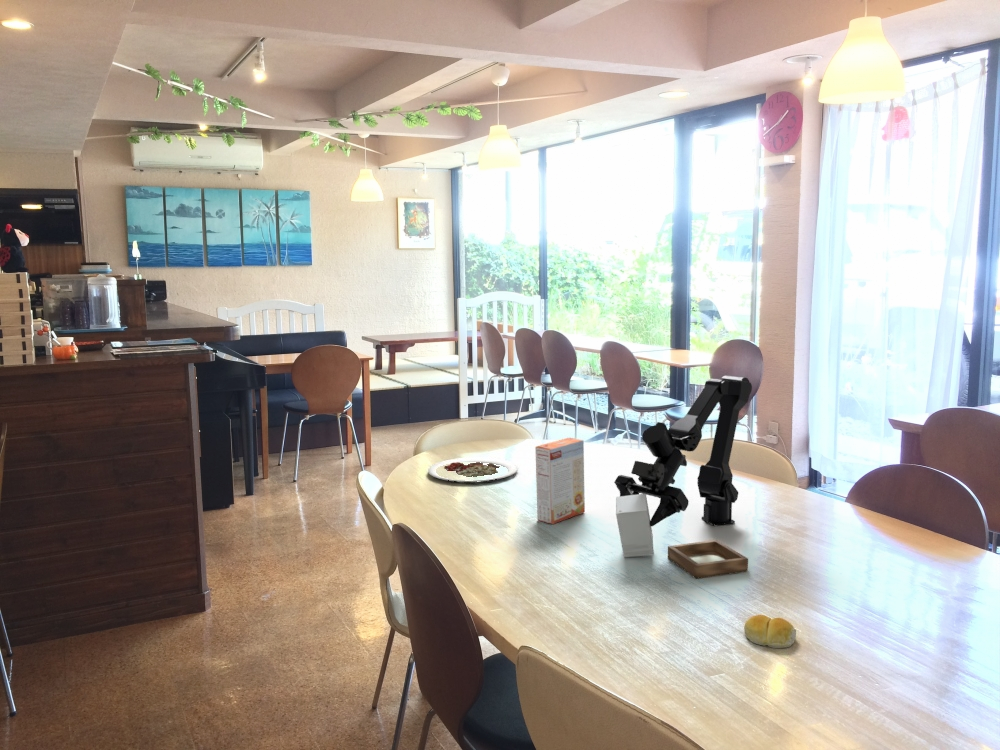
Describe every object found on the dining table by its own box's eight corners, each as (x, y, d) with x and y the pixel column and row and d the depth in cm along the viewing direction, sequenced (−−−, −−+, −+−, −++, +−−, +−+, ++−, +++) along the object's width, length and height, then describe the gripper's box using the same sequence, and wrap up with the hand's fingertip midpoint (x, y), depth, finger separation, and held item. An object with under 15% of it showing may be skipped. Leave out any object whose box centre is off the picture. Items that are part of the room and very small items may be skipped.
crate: (716, 551, 192) (716, 539, 191) (747, 571, 180) (748, 558, 179) (667, 558, 188) (667, 546, 188) (696, 578, 176) (696, 565, 176)
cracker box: (569, 508, 227) (568, 436, 224) (585, 513, 223) (585, 439, 220) (535, 520, 218) (534, 445, 215) (552, 525, 213) (551, 448, 210)
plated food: (518, 485, 253) (518, 475, 252) (423, 487, 253) (423, 476, 253) (517, 461, 282) (517, 452, 282) (432, 463, 283) (432, 453, 282)
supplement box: (654, 555, 188) (647, 510, 183) (623, 558, 189) (614, 514, 184) (653, 536, 194) (646, 492, 189) (623, 539, 196) (615, 495, 191)
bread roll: (750, 624, 154) (750, 605, 154) (798, 635, 149) (799, 615, 149) (737, 642, 147) (738, 621, 147) (788, 654, 142) (788, 632, 142)
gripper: (620, 442, 198) (589, 492, 192) (683, 455, 184) (652, 509, 178) (639, 469, 204) (609, 519, 198) (701, 483, 190) (671, 537, 184)
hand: (634, 520), depth 189 cm, fingers closed on supplement box, 9 cm apart
